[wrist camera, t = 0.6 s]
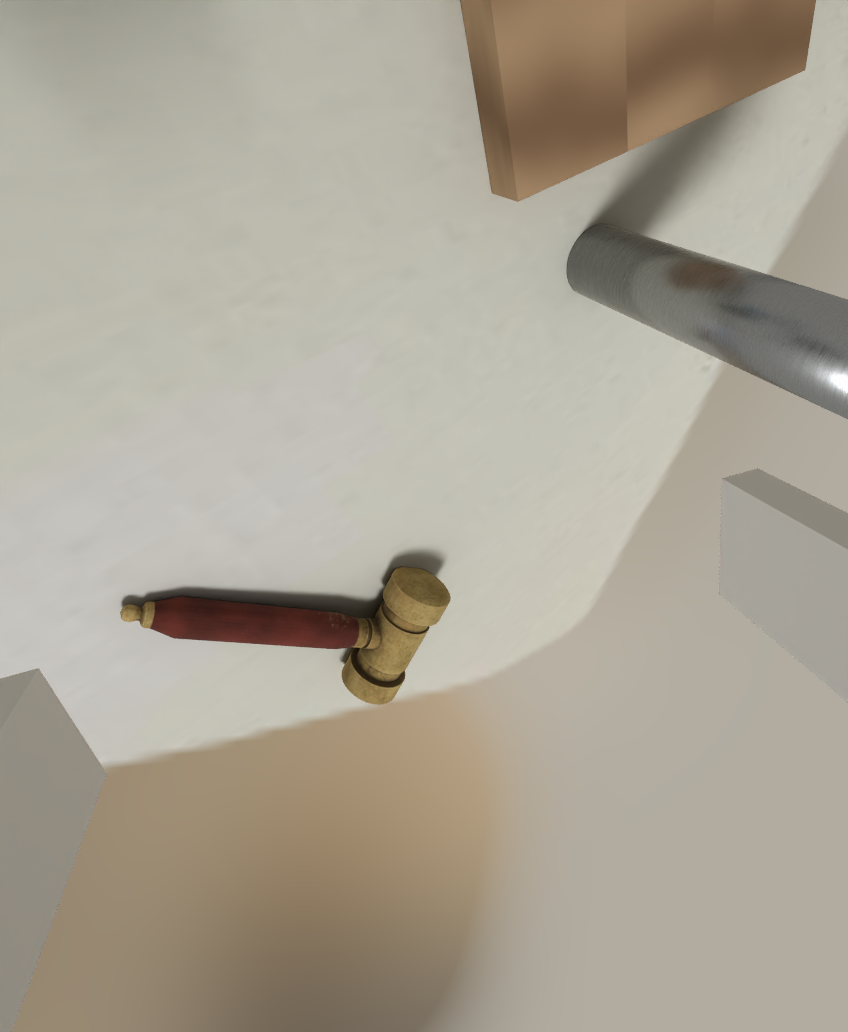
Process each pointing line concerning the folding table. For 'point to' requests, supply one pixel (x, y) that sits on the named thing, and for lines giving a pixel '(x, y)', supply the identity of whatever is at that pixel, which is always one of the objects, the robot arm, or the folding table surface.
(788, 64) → the walnut hole block
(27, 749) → the robot arm
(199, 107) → the folding table surface
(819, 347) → the steel peg
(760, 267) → the folding table surface
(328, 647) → the gavel
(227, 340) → the folding table surface
